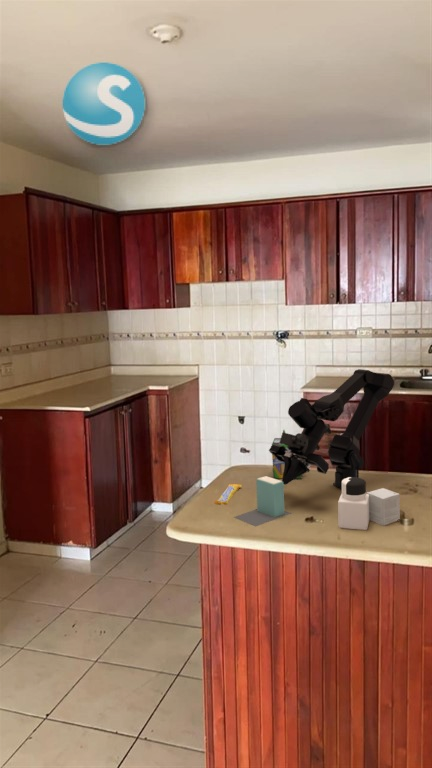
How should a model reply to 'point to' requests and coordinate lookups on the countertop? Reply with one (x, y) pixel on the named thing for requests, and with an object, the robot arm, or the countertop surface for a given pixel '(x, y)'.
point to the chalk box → (277, 465)
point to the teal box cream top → (270, 496)
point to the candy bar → (228, 494)
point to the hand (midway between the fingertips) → (283, 483)
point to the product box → (384, 506)
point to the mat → (258, 517)
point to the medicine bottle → (353, 504)
